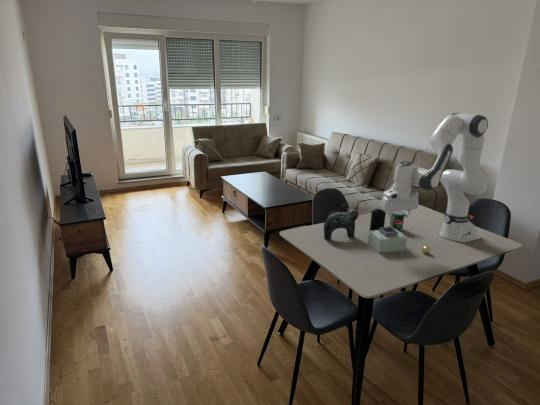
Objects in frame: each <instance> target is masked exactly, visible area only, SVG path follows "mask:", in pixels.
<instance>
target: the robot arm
mask: <svg viewBox="0 0 540 405" xmlns="http://www.w3.org/2000/svg"><path fill="white" fill-rule="evenodd" d="M488 127H489V121H488V119H487V117H486V116H484V115H481V114H475V113H470V112H467V113H464V112H463V113H462V112H461V113H459V112H455V113H454V112H453V113H451V114H448V115H446V116H445V118H443V119H442V121H440V123H439V124H438V125H437V126H436V128H435V129H434V130H433V132H432V134H431V135H430V137H429V143H430V146H431V147H432V149H434V150H435V151H436V152H437V155H438V156H437V158H436V160H434V163H433V165H432V167H431V168H430V169H426V168H423V167H420V166H417V165H415V164H413V162H411V161H410V160H409V161H408V160H407V161H406V160H404V161H400V162H398V163H397V164H396V167H395V170H394V175H393V181H394V182H393V185H392V187H391V188H390V189H389V188H388V189H387V190H385V191H383V193H382V194H383V197H382V198H381V201H380V206H381V209H382V210H383V211H384V212H385V213H386V214H387V218H388V219H389V220H390V219H391V218H392V215H391V211H406V212H404V218H408V217H409V215H410V213H411V212H412V210H417V209H418V208H419V196H420V194H419V192H417V191H411V190H412V185H413V186H415V187H418V188H420V189H422V190H425V191H426V192H430V191H433V190H435V189H436V188H437V187H438V186H439V185H440V183H441V186H443V187H444V189H445V191H446V195H447V206H446V211H445V214H444V220H443V224H442V226H441V229H440V231H439V235H440V236H441V237H442V238H444V239H447V240H450V241H455V242H459V243H467V242H471V241H476V240H480V239H481V235H480V234H478V233H477V227H476V225H475V224H473V223H472V222H471V221H470V220H473V219H474V216H473V215H469V209H470V200H469V199H468V198H467V197H466V196H465V194H464V193H466V194H469V195H470V194H471V195H483V193H485V192H486V190H487V188H488V185H489V184H488V180H487V178H486V177H485V176H484V175H483V172H482V170H481V164H480V163H481V156H482V151H483V147H484V142H485V133H486V131H487V129H488ZM458 135H462V138H461V141H460V145H459V149H458V154H457V162H458V163H459V164H460V165H461V166H462V168H463V170H459V169H458V170H457V169H450V168H449V169H446V168H447V165H448V163H449V161H450V159H451V157H452V154H453V152H454V147H453V143H454V142H455V140H456V138H457V137H458Z"/></svg>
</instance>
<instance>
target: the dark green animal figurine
mask: <svg viewBox="0 0 540 405" xmlns="http://www.w3.org/2000/svg"><path fill="white" fill-rule="evenodd" d="M344 207H346V208H345V209H346V211H340V210H334V211H331V212H330V213H329V214H328V215H327V217H326V220H325V221H324V223H323V236H324V237H323V238H324V239H325V240H326V241H327V240H331V239H332V235H333V233H334V232H335V230H338V229H345V230H346V236H347V237H348V238H350V239H351V238H355V233H356V232H355V230H356V220H358V218H359V212H358V210H357V208H356V206H353V208H349V205H348V204H343V205H342V208H344Z"/></svg>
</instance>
